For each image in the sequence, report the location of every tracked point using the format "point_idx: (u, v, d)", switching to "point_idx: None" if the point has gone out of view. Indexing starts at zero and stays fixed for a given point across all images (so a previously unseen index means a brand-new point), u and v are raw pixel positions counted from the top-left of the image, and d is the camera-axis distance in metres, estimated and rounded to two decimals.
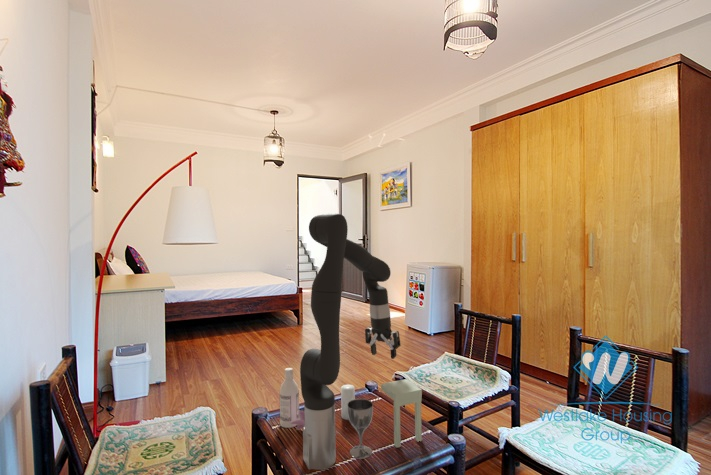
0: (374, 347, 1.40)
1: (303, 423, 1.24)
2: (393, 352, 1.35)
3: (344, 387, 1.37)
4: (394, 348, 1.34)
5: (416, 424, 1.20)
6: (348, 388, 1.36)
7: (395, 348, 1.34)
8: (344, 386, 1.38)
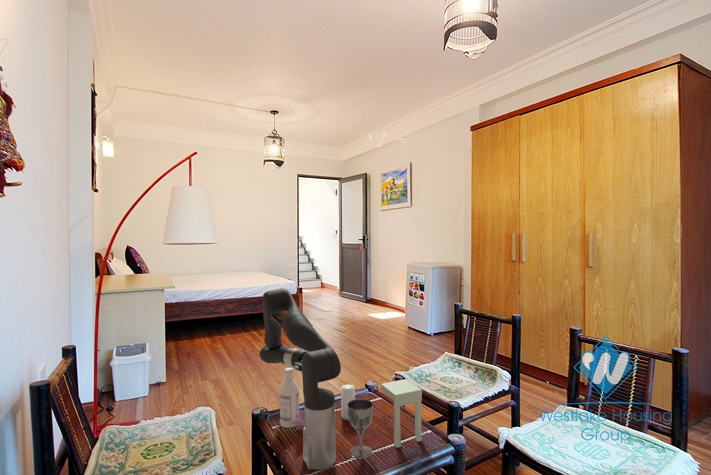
0: None
1: (303, 423, 1.24)
2: None
3: (344, 387, 1.37)
4: None
5: (416, 424, 1.20)
6: (348, 388, 1.36)
7: None
8: (344, 386, 1.38)
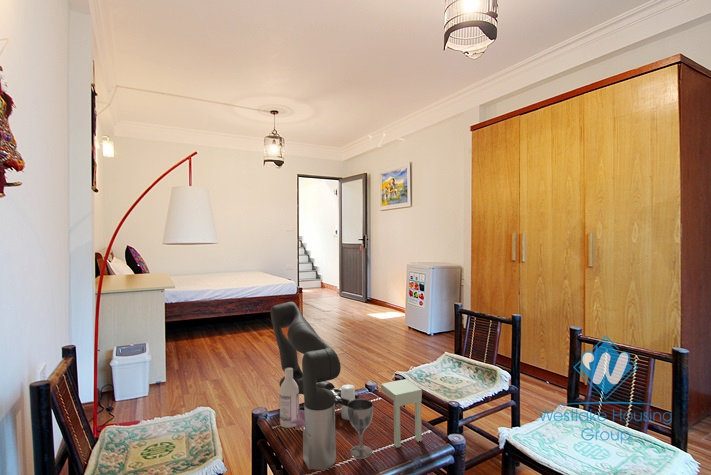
0: None
1: (302, 423, 1.24)
2: None
3: (344, 387, 1.37)
4: None
5: (416, 424, 1.20)
6: (348, 388, 1.36)
7: None
8: (344, 386, 1.38)
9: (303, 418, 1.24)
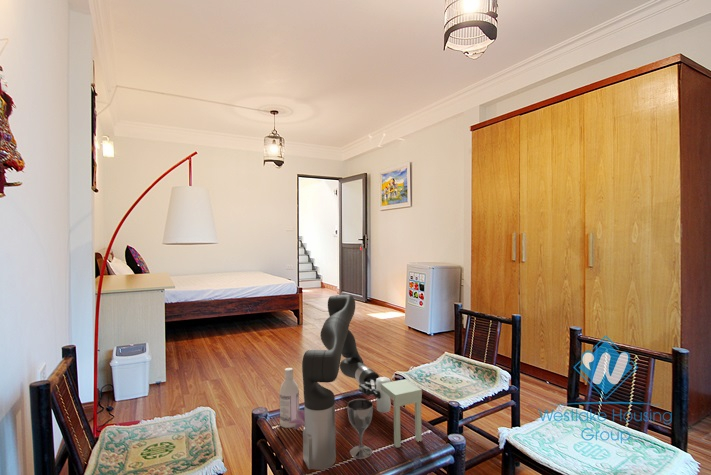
0: None
1: (301, 422, 1.24)
2: None
3: (379, 379, 1.35)
4: None
5: (416, 424, 1.20)
6: (382, 380, 1.34)
7: None
8: (380, 378, 1.36)
9: (302, 418, 1.24)
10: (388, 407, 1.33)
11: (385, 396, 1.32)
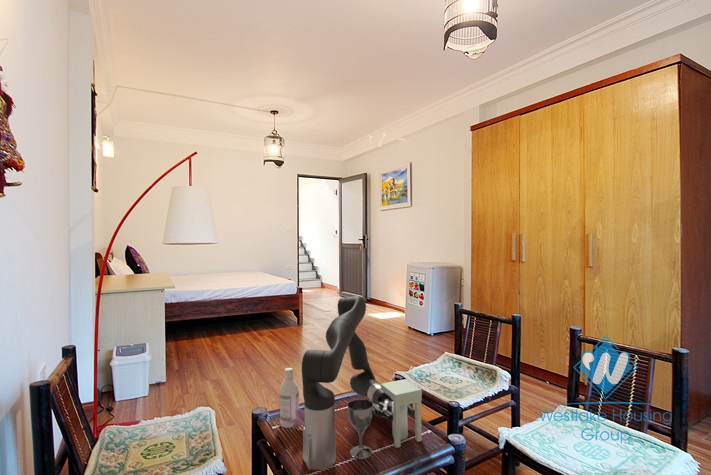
0: None
1: (300, 422, 1.25)
2: (411, 407, 1.26)
3: None
4: (410, 405, 1.27)
5: (416, 424, 1.20)
6: None
7: (411, 405, 1.27)
8: None
9: (301, 417, 1.25)
10: (405, 434, 1.21)
11: (402, 421, 1.21)
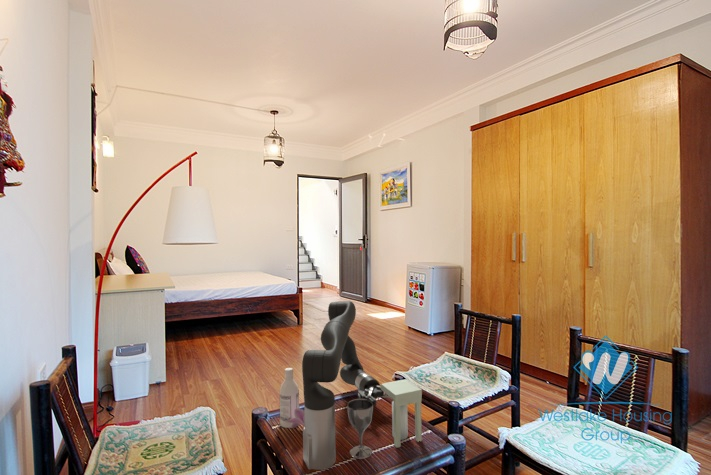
0: None
1: (299, 421, 1.25)
2: None
3: None
4: None
5: (416, 424, 1.20)
6: None
7: None
8: None
9: (300, 417, 1.25)
10: (405, 434, 1.21)
11: (402, 421, 1.21)
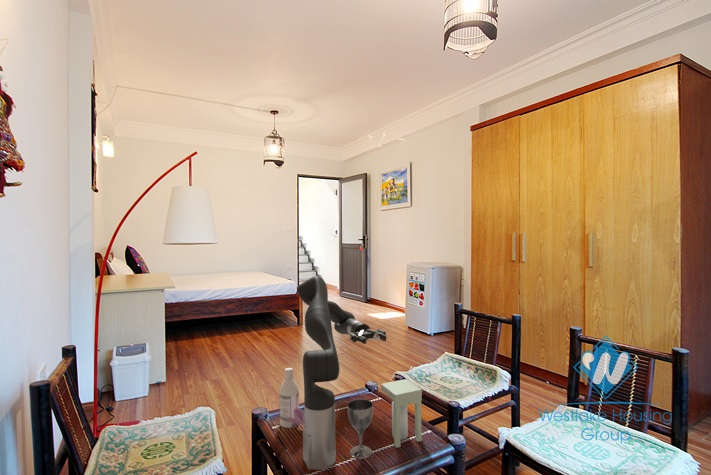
0: None
1: (298, 421, 1.25)
2: (383, 335, 1.44)
3: None
4: (383, 333, 1.46)
5: (416, 424, 1.20)
6: None
7: (383, 333, 1.46)
8: None
9: (299, 416, 1.25)
10: (405, 434, 1.21)
11: (402, 421, 1.21)
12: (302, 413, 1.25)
